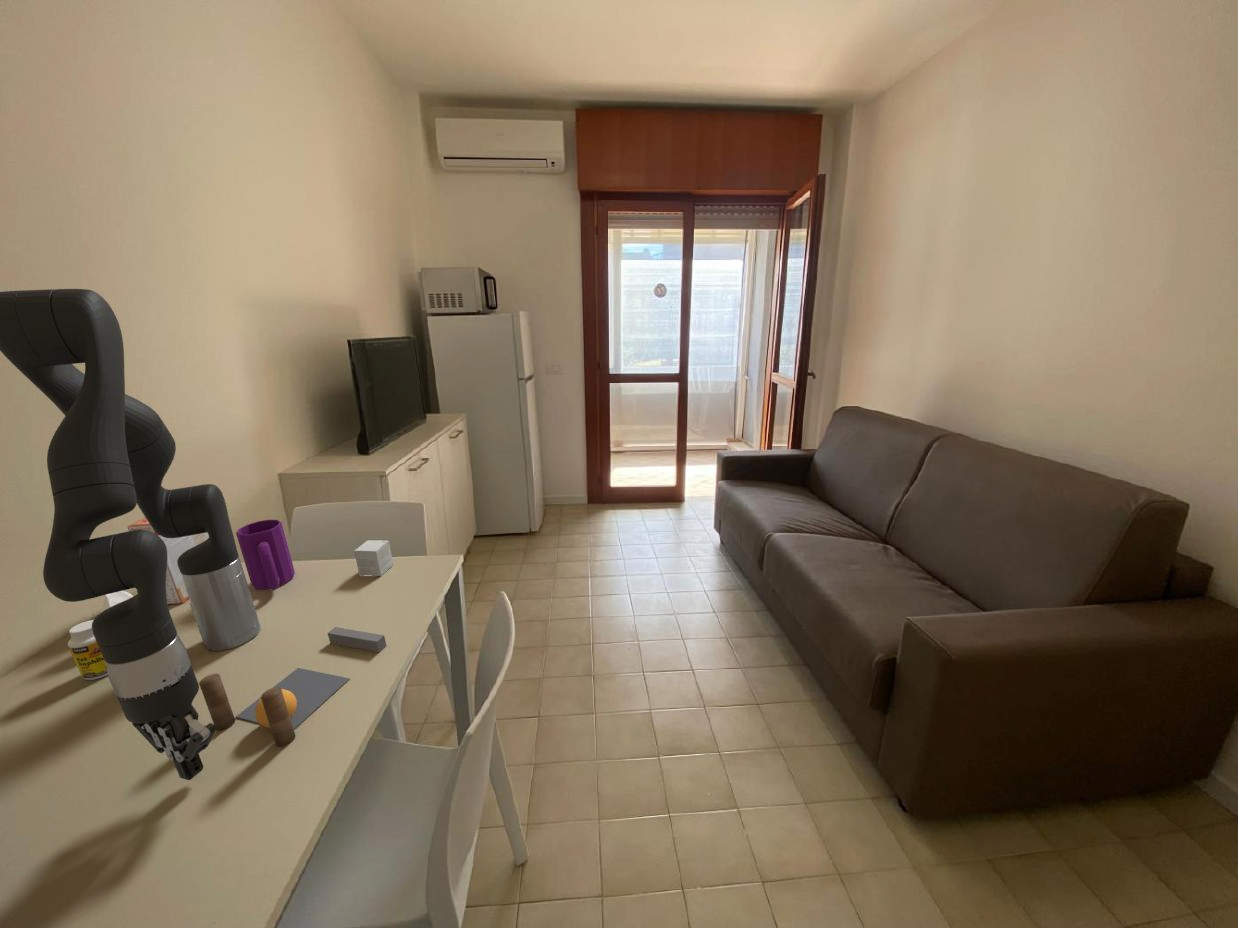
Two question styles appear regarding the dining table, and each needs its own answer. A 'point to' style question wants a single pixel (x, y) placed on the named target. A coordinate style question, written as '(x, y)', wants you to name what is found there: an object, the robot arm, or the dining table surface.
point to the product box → (374, 557)
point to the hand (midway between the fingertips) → (192, 773)
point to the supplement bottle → (87, 652)
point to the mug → (266, 554)
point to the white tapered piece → (114, 599)
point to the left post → (217, 702)
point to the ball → (290, 704)
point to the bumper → (357, 639)
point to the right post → (278, 716)
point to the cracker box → (173, 560)
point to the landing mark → (303, 693)
